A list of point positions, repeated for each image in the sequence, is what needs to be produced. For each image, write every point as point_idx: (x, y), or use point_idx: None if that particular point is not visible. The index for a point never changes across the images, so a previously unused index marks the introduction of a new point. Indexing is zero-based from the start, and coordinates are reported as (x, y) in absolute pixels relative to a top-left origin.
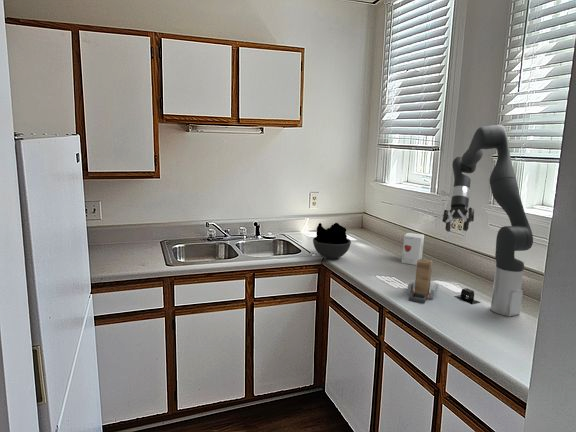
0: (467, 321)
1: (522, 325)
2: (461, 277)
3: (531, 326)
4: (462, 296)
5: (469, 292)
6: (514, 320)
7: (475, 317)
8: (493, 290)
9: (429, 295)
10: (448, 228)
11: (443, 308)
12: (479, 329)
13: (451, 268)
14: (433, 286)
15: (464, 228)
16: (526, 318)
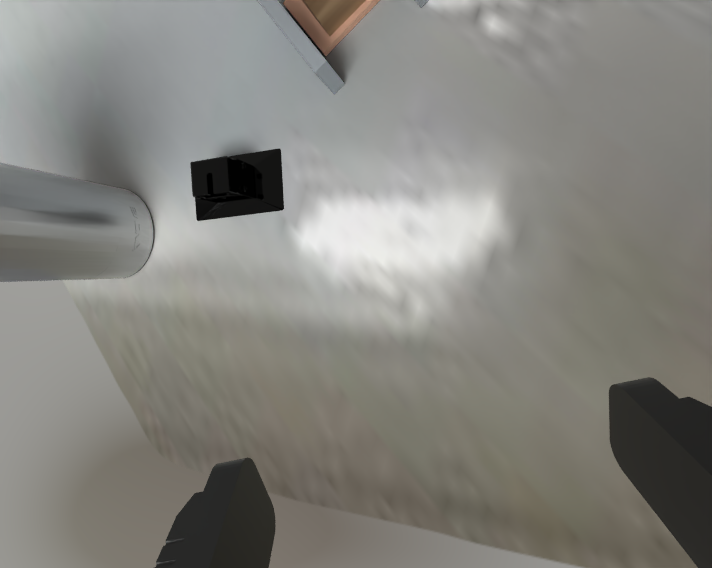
0: (96, 31)
1: None
2: (492, 425)
3: None
4: (249, 174)
5: (192, 165)
6: None
7: (110, 84)
8: (56, 177)
9: (303, 17)
10: (647, 446)
11: (194, 10)
12: (52, 31)
13: None
14: (292, 21)
15: (209, 476)
16: None
